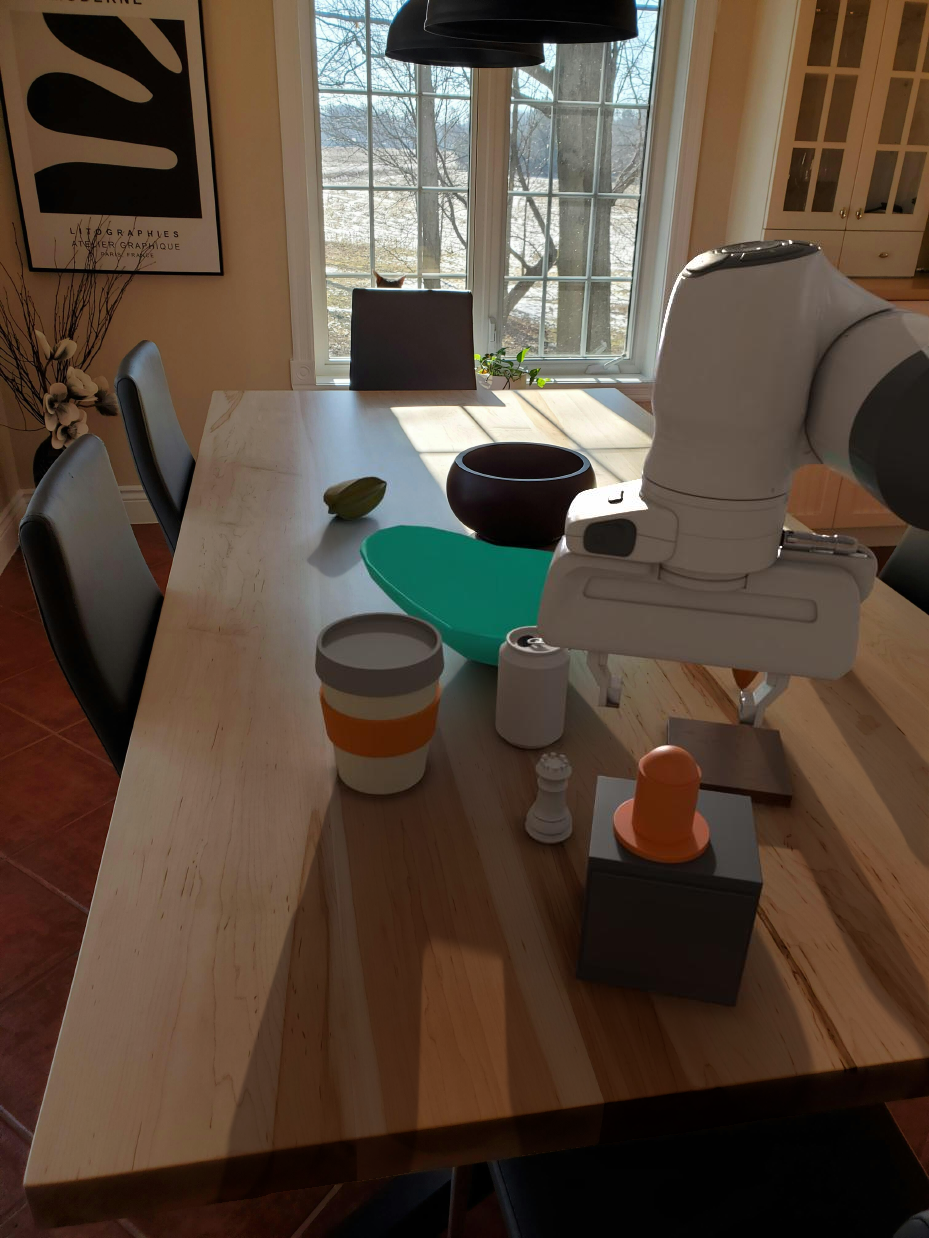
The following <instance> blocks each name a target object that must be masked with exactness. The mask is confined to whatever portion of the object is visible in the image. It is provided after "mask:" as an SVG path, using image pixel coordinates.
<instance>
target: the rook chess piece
mask: <svg viewBox="0 0 929 1238" xmlns="http://www.w3.org/2000/svg"><path fill="white" fill-rule="evenodd" d="M549 754H550V755H549V756H548V754H547V753H544V754H542V755H541V758H540V760H539V761H538V762H537V764H536V765H535V771H536V773H537V774H538V775H539V777H538V778H537V780H536V783H537V786H538V790H537V795H536V799H535V801H534V802H533V804H532V806H531V807H530V808H529V810H528V811H527V813H526V820H525V822H524V824H525V826H524V827H525V830H526V832H527V834H529V836H530V837H531V839H534V840H535V841H536V842H539V843H542V844H545V845H555V844H559V843H562V842H563V841H565V840H567V838H569V837H570V836H571V834H572V833H573V816H572V813H571V812H570V810H569V807H568V806H567V803H566V789H567V787H568V786H569V784H568V780H567V778H569V777H570V776H571V774H572V772H573V771H572V767H571V765H570V764H569V759H568V758H566V756H565V755H564V754H562V753H561V754H559V756H556V755H557V752H550V753H549Z"/></svg>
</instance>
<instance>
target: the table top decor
mask: <svg viewBox="0 0 929 1238" xmlns="http://www.w3.org/2000/svg"><path fill="white" fill-rule="evenodd" d="M358 551H359V553H360V556H361V558H362V561H363V563H364V566H365V569H366V570H367V572H368V575H369V576H370V578H371V580H372V581H373V582H374V583H375V584H376V585H377V586H378V588H380V589H381V591H382V592H383V593H384V594H385V595H386V596H387V597H388V598H389V599H390V600H391V601H392V602H393V603H395V605H397V607H398V608H400V610H402V611H403V612H404V613H405V614H406V615H410V616H414V617H417V618H420V619H422V620H424V621H427V622H429V623H430V624H432V625H433V626H435V627H436V629H437V630H438V631H439V632H440V634H441V637H442V644H445V645H446V646H448V647H449V648H451V649H452V650H453V651H455V652H456V653H458V654H459V655H461V656H462V657H464V658H465V659H467V660H469V661H474V662H478V663H483V664H487V665H491V666H495V667H498V665H499V649H500V647H501V645H502V644H503V643H504V642H506V637H507V634H508V633H510V632H511V631H512V630H514V629H517V628H520V627H526V626H537V620H538V613H539V607H540V602H541V597H542V593H543V589H544V585H545V581H546V577H547V574H548V570H549V567H550V563H551V561H552V558H553V555H554V552H555V551H548V550H542V549H533V548H523V547H513V546H502V545H495V544H492V543H489V542H487V541H483V540H480V539H478V538H474V537H472V536H469V535H466V534H463V533H459V532H454V531H450V530H446V529H441V528H437V527H432V526H424V525H407V524H405V525H404V524H400V525H395V526H391V527H386V528H381V529H378V530H376V531H375V532H373V533H372V534H370V535H369V536H367V537H365V538H364V539H363V541H362V544H361V546H360V548H359V550H358ZM568 650H569V651H570V650H572V649H568Z"/></svg>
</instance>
